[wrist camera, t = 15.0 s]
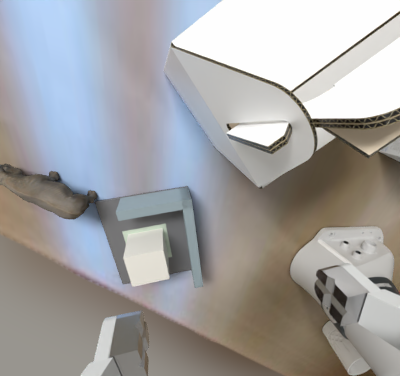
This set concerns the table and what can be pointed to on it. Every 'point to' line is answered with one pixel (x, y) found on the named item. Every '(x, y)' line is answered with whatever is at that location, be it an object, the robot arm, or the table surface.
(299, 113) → the gable box
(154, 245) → the block
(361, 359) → the white cup
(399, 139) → the light bulb box
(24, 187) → the rhino figurine
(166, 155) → the table surface
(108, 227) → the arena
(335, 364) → the table surface
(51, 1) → the table surface
